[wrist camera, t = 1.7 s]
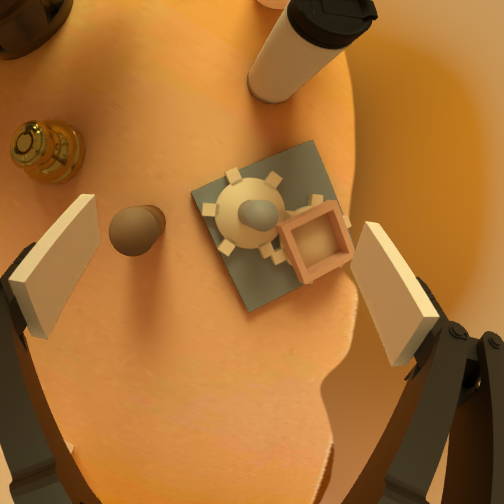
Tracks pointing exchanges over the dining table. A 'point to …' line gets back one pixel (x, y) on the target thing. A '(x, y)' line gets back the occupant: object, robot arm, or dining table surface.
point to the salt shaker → (47, 150)
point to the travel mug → (306, 44)
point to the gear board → (276, 224)
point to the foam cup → (274, 3)
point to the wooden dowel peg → (136, 229)
